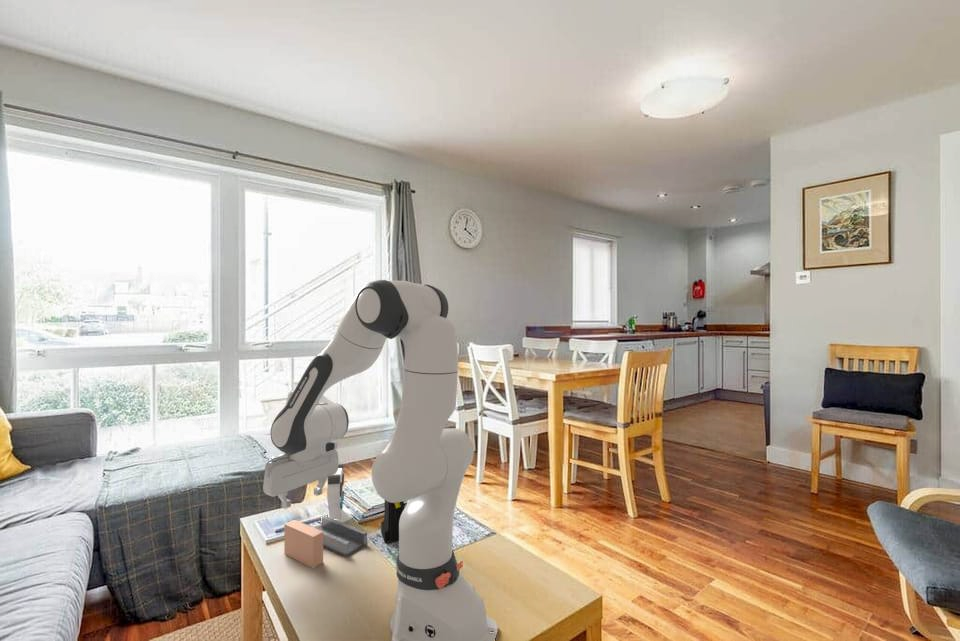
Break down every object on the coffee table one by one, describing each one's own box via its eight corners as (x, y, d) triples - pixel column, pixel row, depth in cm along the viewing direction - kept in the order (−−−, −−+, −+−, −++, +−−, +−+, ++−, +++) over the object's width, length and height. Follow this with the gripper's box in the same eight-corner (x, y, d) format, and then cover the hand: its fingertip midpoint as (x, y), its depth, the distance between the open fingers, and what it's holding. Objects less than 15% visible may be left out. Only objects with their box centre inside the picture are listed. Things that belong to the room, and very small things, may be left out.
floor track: (367, 544, 123) (367, 532, 123) (345, 557, 117) (345, 544, 116) (324, 527, 132) (324, 515, 132) (303, 537, 126) (303, 525, 126)
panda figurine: (352, 524, 135) (352, 475, 134) (313, 527, 132) (313, 477, 132) (355, 507, 146) (355, 462, 146) (318, 510, 144) (319, 464, 144)
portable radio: (407, 541, 125) (407, 453, 124) (385, 545, 123) (385, 455, 122) (401, 528, 132) (401, 445, 132) (380, 532, 130) (381, 447, 129)
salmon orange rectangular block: (323, 562, 114) (323, 531, 114) (313, 568, 112) (313, 536, 111) (294, 548, 121) (294, 519, 120) (284, 553, 118) (284, 524, 118)
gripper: (273, 462, 105) (272, 519, 106) (342, 441, 122) (341, 490, 123) (258, 456, 109) (257, 512, 109) (327, 437, 126) (326, 485, 126)
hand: (302, 500), depth 116 cm, fingers open, 8 cm apart
